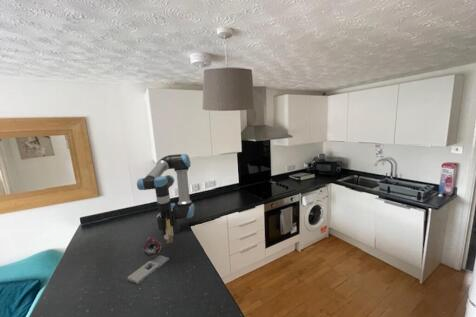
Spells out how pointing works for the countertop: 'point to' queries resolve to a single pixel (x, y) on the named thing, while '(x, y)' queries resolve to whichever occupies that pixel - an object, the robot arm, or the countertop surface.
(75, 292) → the countertop surface
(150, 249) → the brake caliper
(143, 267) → the light grey flat block
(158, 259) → the lower link
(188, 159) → the robot arm
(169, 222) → the pin
